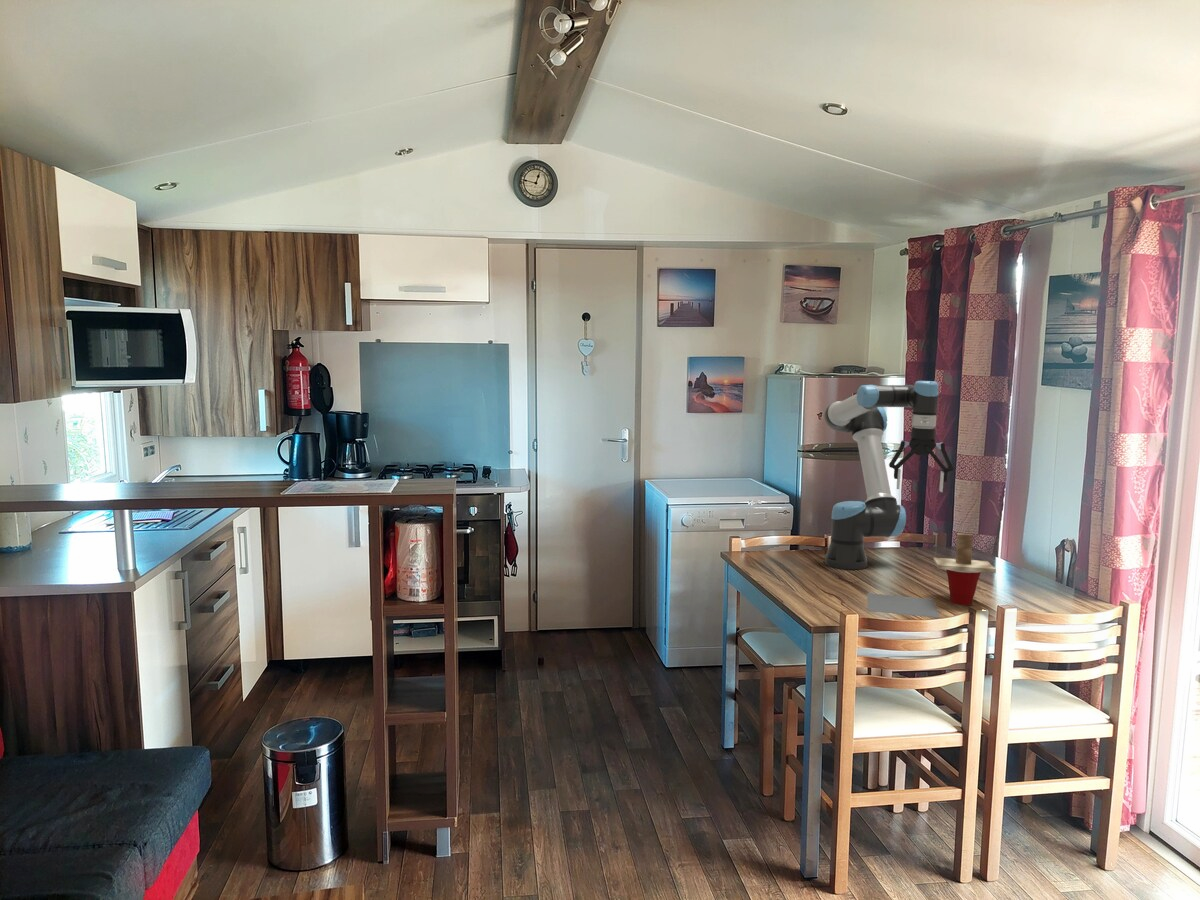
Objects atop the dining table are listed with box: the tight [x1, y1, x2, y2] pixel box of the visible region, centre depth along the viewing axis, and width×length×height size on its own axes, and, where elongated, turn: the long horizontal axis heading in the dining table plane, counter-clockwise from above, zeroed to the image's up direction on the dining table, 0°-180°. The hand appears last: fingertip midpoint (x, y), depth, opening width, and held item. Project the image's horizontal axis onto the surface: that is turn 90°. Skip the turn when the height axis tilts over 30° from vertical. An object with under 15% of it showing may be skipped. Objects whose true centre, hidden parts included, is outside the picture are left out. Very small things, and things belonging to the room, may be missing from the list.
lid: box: [932, 532, 997, 574], centre depth 258 cm, size 16×16×10 cm
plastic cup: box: [945, 570, 982, 606], centre depth 258 cm, size 11×11×12 cm
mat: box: [866, 592, 941, 619], centre depth 255 cm, size 20×20×1 cm
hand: (919, 490), depth 279 cm, fingers open, 13 cm apart
